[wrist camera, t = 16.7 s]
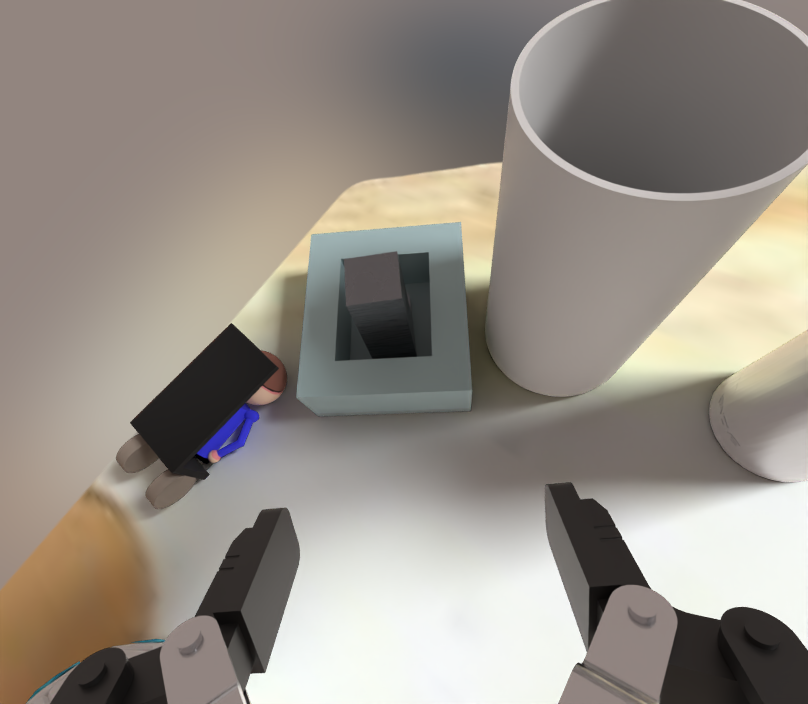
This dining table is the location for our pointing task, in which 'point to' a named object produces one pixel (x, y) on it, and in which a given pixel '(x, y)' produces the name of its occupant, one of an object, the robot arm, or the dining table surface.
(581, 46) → the cylinder vase
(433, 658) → the dining table surface
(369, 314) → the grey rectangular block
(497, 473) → the dining table surface
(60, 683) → the puzzle ball
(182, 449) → the figurine character
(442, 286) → the well block
